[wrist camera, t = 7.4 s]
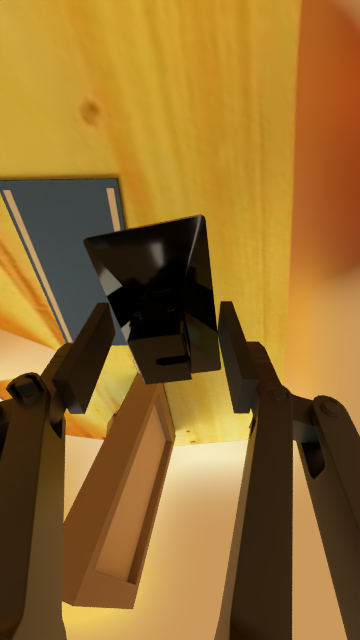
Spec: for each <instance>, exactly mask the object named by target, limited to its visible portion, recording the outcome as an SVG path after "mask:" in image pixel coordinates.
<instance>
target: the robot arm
mask: <svg viewBox="0 0 360 640" xmlns="http://www.w3.org/2000/svg"><path fill="white" fill-rule="evenodd" d="M217 333H218V338H219V343H220V348H221V352H222V357H223V362H224V367H225V372H226V376H227V381H228V386H229V391H230V396H231V401H232V405H233V410H234V413H249V412H250V409H252V413H253V418H252V421H251V424H250V427H249V428H250V434H249V440H248V446H247V453H246V458H245V465H244V471H243V477H242V483H241V489H240V496H239V501H238V508H237V514H236V520H235V526H234V532H233V538H232V544H231V550H230V556H229V563H228V569H227V574H226V581H225V587H224V593H223V599H222V605H221V611H220V617H219V621H218V626H217V629H216V634H215V639H214V640H292V510H293V509H292V508H293V503H292V501H293V494H292V493H293V440H295V441H296V442H297V446H298V450H299V454H300V458H301V462H302V465H303V469H304V473H305V477H306V481H307V485H308V489H309V493H310V496H311V500H312V504H313V508H314V512H315V516H316V519H317V523H318V527H319V531H320V535H321V539H322V543H323V546H324V551H325V554H326V558H327V562H328V566H329V570H330V573H331V578H332V582H333V585H334V589H335V593H336V597H337V601H338V604H339V608H340V612H341V616H342V620H343V624H344V628H345V632H346V636H347V639H348V640H360V436H359V434H358V432H357V430H356V428H355V426H354V424H353V422H352V420H351V418H350V416H349V414H348V412H347V411H346V409H345V407H344V406H343V405H342V404H341V403H339V402H338V401H337V400H335V399H333V398H332V397H328V396H324V395H322V396H317V397H315V398H314V400H309V399H306V398H302V397H299V396H296V395H293V394H291V393H290V391H289V390H288V389H287V388H285V387H284V386H283V385H281V383H280V381H279V379H278V376H277V374H276V372H275V370H274V367H273V365H272V363H271V362H270V358H269V356H268V354H267V352H266V349H265V347H264V346H262V345H261V344H260V343H259V342H246V339H245V337H244V334H243V331H242V328H241V325H240V323H239V320H238V317H237V314H236V312H235V309H234V306H233V303H232V301H221V304H220V313H219V322H218V331H217ZM115 334H116V331H115V327H114V323H113V319H112V315H111V311H110V307H109V303H97V304H96V306H95V308H94V309H93V311H92V313H91V314H90V316H89V318H88V319H87V321H86V323H85V324H84V326H83V328H82V329H81V331H80V333H79V334H78V336H77V338H76V339H75V341H74V343H65V344H64V345H63V346H62V347H60V348H59V349H58V350H57V352H56V353H55V355H54V357H53V358H52V359H51V361H50V363H49V364H48V365H47V367H46V368H45V370H44V371H43V373H42V374H41V376H40V375H38V374H37V373H33V372H31V373H25V374H23V375H20V376H18V377H17V378H15V379H13V380H12V381H11V382H10V383H9V384H8V386H7V388H6V390H7V391H8V392H9V394H10V395H11V396H12V397H13V398H12V399H8V400H5V401H1V402H0V640H67V639H66V631H65V627H64V623H63V620H62V564H63V516H64V513H63V512H64V470H65V468H64V467H65V425H66V420H65V417H64V412H65V410H66V408H67V409H68V411H69V412H70V414H85V412H86V409H87V407H88V404H89V402H90V399H91V396H92V394H93V391H94V389H95V386H96V383H97V381H98V378H99V376H100V373H101V370H102V368H103V365H104V363H105V360H106V358H107V355H108V352H109V350H110V347H111V345H112V342H113V339H114V337H115Z"/></svg>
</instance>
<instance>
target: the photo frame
mask: <svg viewBox="0 0 360 640" xmlns="http://www.w3.org/2000/svg"><path fill="white" fill-rule="evenodd" d="M175 437H176V436H175V432H174V428H173V424H172V420H171V416H170V411H169V407H168V403H167V399H166V395H165V391H164V387H163V383H157V384H149V385H146V384H145V382H144V380H143V378H142V376H141V374H140V373H137V375H136V377H135V379H134V381H133V383H132V385H131V387H130V389H129V391H128V393H127V395H126V397H125V399H124V401H123V403H122V405H121V407H120V409H119V412H118V414H117V416H116V418H115V415H113V416H112V418H111V420H110V421H109V423H108V425H107V434H106V438H105V440H104V442H103V444H102V446H101V448H100V450H99V453H98V454H97V456H96V458H95V460H94V463H93V465H92V467H91V469H90V471H89V473H88V475H87V477H86V479H85V481H84V483H83V485H82V487H81V489H80V491H79V493H78V495H77V497H76V499H75V501H74V503H73V506H72V507H71V509H70V512H69V513H68V515H67V517H66V520H65V521H64V523H63V564H62V601H63V602H65V603H68V604H70V605H72V606H82V607H102V608H121V609H133V607H134V603H135V599H136V595H137V591H138V587H139V583H140V578H141V574H142V570H143V566H144V562H145V558H146V554H147V550H148V546H149V542H150V538H151V534H152V530H153V526H154V522H155V518H156V514H157V510H158V506H159V502H160V497H161V493H162V489H163V485H164V481H165V477H166V473H167V469H168V465H169V460H170V457H171V453H172V449H173V445H174V441H175Z"/></svg>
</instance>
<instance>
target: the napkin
mask: <svg viewBox="0 0 360 640" xmlns="http://www.w3.org/2000/svg"><path fill="white" fill-rule="evenodd" d="M0 193H1V196H2V198H3V200H4V203H5V205H6V207H7V209H8V212H9V214H10V216H11V218H12V221H13V223H14V225H15V228H16V230H17V232H18V234H19V237H20V239H21V241H22V243H23V246H24V248H25V250H26V253H27V255H28V257H29V259H30V262H31V264H32V266H33V268H34V271H35V273H36V275H37V278H38V280H39V282H40V284H41V287H42V289H43V291H44V293H45V296H46V298H47V300H48V303H49V305H50V307H51V309H52V312H53V314H54V316H55V318H56V321H57V323H58V325H59V328H60V330H61V332H62V334H63V337H64V339H65V341H66V343H74V341H75V339H76V338H77V336H78V334H79V333H80V331H81V329H82V328H83V326H84V324H85V323H86V321H87V319H88V318H89V316H90V314H91V313H92V311H93V309H94V308H95V306H96V304H97V303H109V301H108V298H107V296H106V294H105V291H104V289H103V287H102V285H101V282H100V280H99V278H98V275H97V273H96V271H95V269H94V266H93V264H92V262H91V259H90V257H89V255H88V252H87V250H86V248H85V246H84V243H83V241H84V239H85V238H86V237H89V236H94V235H99V234H104V233H109V232H114V231H119V230H124V229H125V223H124V217H123V211H122V204H121V198H120V191H119V185H118V179H117V178H106V179H51V180H0ZM109 307H110V311H111V315H112V319H113V323H114V327H115V331H116V334H115V337H114V339H113V342H112V345H128V344H127V342H126V340H125V337H124V335H123V333H122V330H121V328H120V326H119V324H118V321H117V319H116V317H115V314H114V312H113V310H112V307H111V305H110V303H109Z"/></svg>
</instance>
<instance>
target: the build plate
mask: <svg viewBox="0 0 360 640" xmlns="http://www.w3.org/2000/svg"><path fill="white" fill-rule="evenodd" d="M83 243H84V246H85V248H86V250H87V252H88V255H89V257H90V259H91V262H92V264H93V266H94V269H95V271H96V273H97V275H98V278H99V280H100V282H101V285H102V287H103V289H104V291H105V294H106V296H107V298H108V301H109V303H110V305H111V307H112V310H113V312H114V314H115V317H116V319H117V321H118V324H119V326H120V328H121V330H122V333H123V335H124V337H125V340H126V342H127V344H128V346H129V349H130V351H131V353H132V356H133V362H134V364H135V366H136V369H137V371H138V372H139V373H140V374H141V376H142V378H143V380H144V382H145V384H146V385H149V384H157V383H166V382H174V381H183V380H191V379H192V373H200V372H209V371H217V370H220V369H221V361H220V352H219V343H218V333H217V324H216V314H215V305H214V295H213V286H212V277H211V267H210V258H209V248H208V239H207V229H206V220H205V217H204V216H203V215H201V214H200V215H195V216H190V217H185V218H180V219H175V220H170V221H165V222H160V223H155V224H150V225H144V226H139V227H134V228H129V229H124V230H119V231H114V232H109V233H104V234H99V235H94V236H89V237H86V238H85V239H84V241H83Z"/></svg>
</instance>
